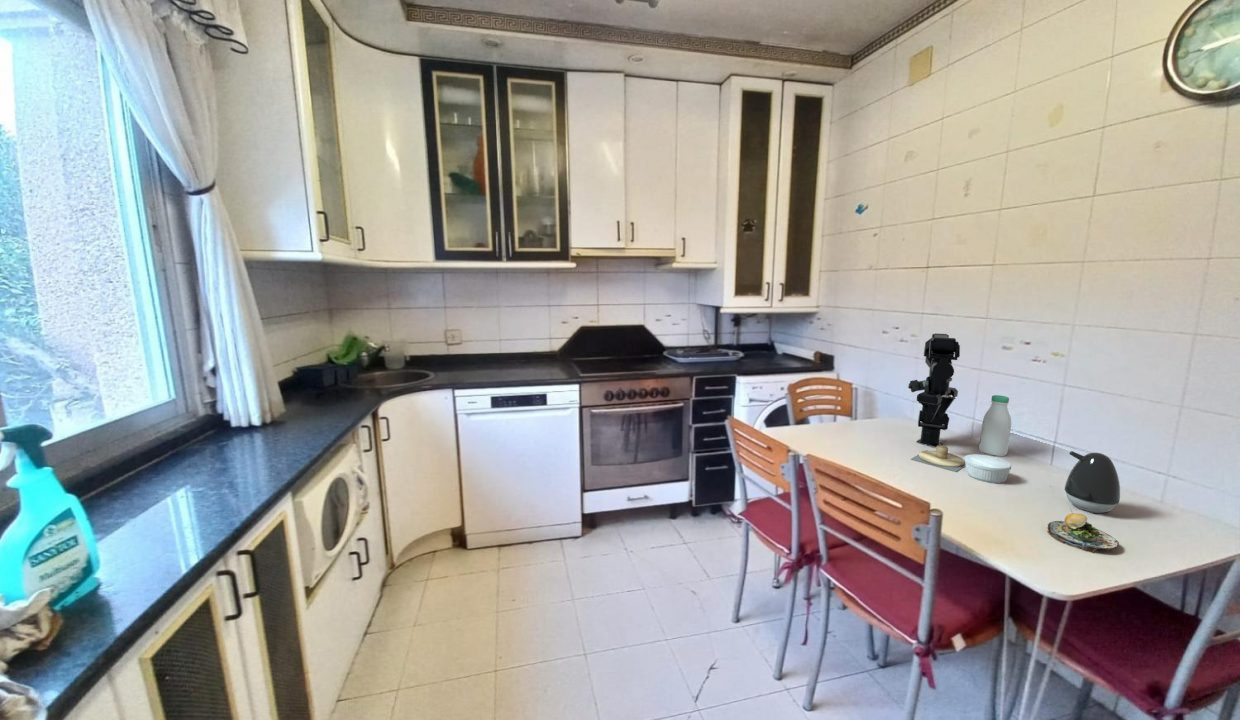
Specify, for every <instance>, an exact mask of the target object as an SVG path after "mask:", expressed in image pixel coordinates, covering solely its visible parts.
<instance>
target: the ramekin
mask: <svg viewBox="0 0 1240 720" xmlns="http://www.w3.org/2000/svg"><path fill="white" fill-rule="evenodd" d="M963 460H964V461H965V472H966V474H967V475H968V476H969V477H970V478H972V479H974V480H977V481H980V482H985V483H989V484H990V483H991V484H1001V483H1004V482H1006V480H1007V479H1008V476H1009V473H1010V470H1012V464H1011V463H1010V462H1009V461H1007V460H1004V459H1002V458H999V457H996V456H993V455H988V454H978V453H977V454H976V453H975V454H974V453H973V454H968V455H965V456H964V458H963Z"/></svg>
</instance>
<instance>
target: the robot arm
mask: <svg viewBox="0 0 1240 720" xmlns="http://www.w3.org/2000/svg"><path fill="white" fill-rule="evenodd" d="M960 346H961V345H960V344H959V341H957V339H956V338H954V337H950V336H949V334H947V333H932V335H931V338H929V339H928V340H927V341H925V344H924V349H923V357H925V364H926V366H928V368H929V372H928V376H927V377H926V378H925V380H919V381H918V379H915V380H914V379H913V380H910V381H909V384H908V386H907V388H908V389H909V390H910V391H911V393H915V392H920V391H923V392H920V393H918V394H917V395H916V401H917V402H918V403H919V404H921V405H922V407H921V410H919V413H918V417H917V427H918V428H919V427H920V428H921V431H920V433H921V434H920V438H918V439H917V440H916V443H918V444H922V445H926V446H930V447H934V448H937V446H938V445H940V446H942V445H943V444H944V443H943V441H940V437H941V431H947V430H948V427H949V422H950V417H949V415H948V413H946V412H947V410H948V409H949V407H950V406H951V405H952V403H953V402H954V401H955V399H956V397H958V394H959V390H958V389H957V388H956V387H950V383H951V382H952V381H953V378H952V377H953V376H954V374H955V369H954V367H953V361H958V358H960V356H961V355H960V353H961V349H960V348H961V347H960Z"/></svg>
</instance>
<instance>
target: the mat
mask: <svg viewBox="0 0 1240 720" xmlns="http://www.w3.org/2000/svg"><path fill="white" fill-rule="evenodd" d="M925 451H928V449H927V450H925ZM910 460H912V461H915V462H919V463H922V464H926V465H929V466H932V467H937V468H940V469H943V470H947V471H951V472H954V473H958V472H959V471H960V470H961V469H963V468H966V466H965V461H964V466H962V467H955V468H953V467H943V466H938V465H933V464H930V463H927V462H925V461H923V460H921V459H920V458H919V454H916V455H914V456H913V457H912V458H910Z"/></svg>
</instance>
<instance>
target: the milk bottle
mask: <svg viewBox="0 0 1240 720" xmlns="http://www.w3.org/2000/svg"><path fill="white" fill-rule="evenodd" d="M990 402H991V404H990V407H989V408H988V410H987V411H986V412H985V414H984V415H983V418H982V425H981V431H980V437H979V445H978V446H979V447H978V450H979V451H980V452H981V453H983V454H985V455H989V456H994V457H996V456H997V457H998V456H999V457H1005V456H1007V454H1008V451H1009V444H1010V437H1011V430H1012V429H1011V428H1012V419H1011V418H1012V417H1011V414H1010V412H1009V410H1008V409H1009V408H1008V404H1009V402H1010V397H1009V396H1004V395H998V394H995V395H992V396H991V401H990Z"/></svg>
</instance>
